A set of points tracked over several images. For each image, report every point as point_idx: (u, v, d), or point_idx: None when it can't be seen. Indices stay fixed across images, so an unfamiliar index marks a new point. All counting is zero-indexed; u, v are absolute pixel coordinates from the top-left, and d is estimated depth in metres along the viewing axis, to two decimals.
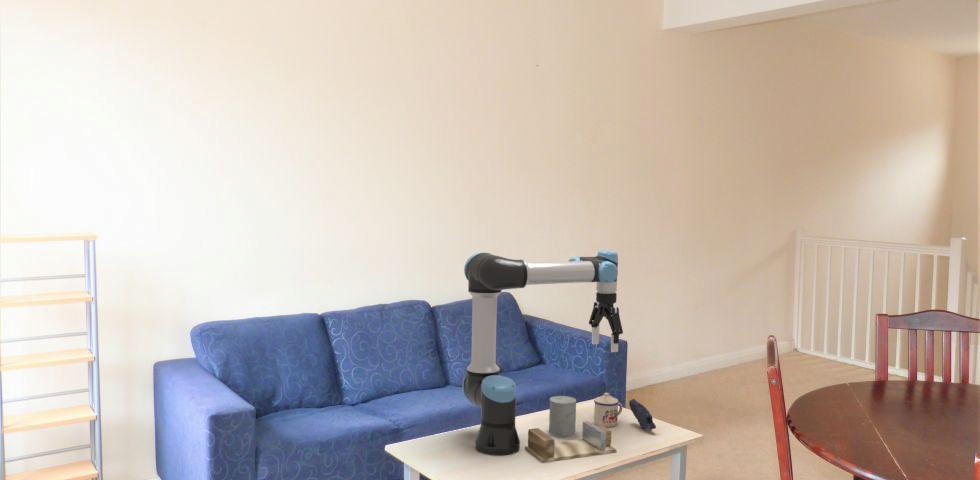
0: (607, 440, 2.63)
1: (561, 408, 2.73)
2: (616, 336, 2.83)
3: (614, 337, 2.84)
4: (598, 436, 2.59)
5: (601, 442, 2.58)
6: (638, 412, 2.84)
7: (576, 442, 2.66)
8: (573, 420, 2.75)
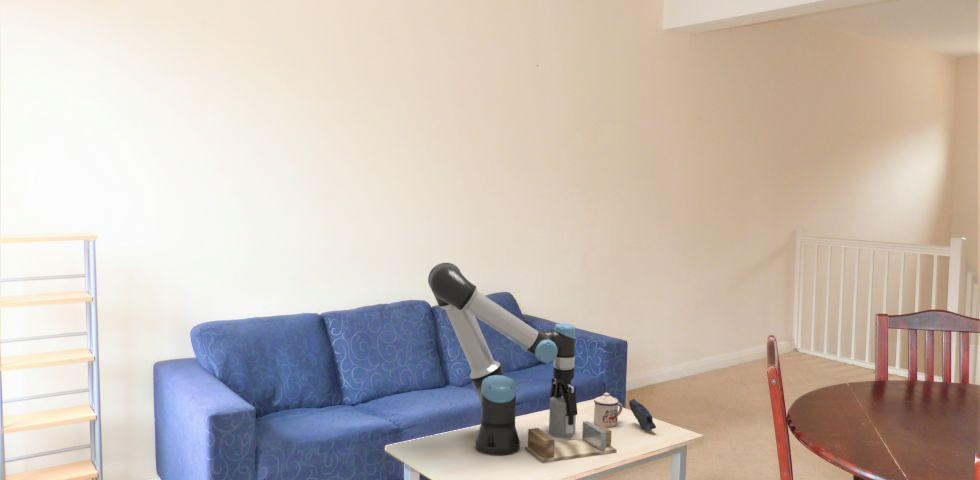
0: (607, 440, 2.63)
1: (561, 408, 2.73)
2: (570, 417, 2.72)
3: (568, 418, 2.72)
4: (598, 436, 2.59)
5: (601, 442, 2.58)
6: (638, 412, 2.84)
7: (576, 442, 2.66)
8: (573, 420, 2.75)
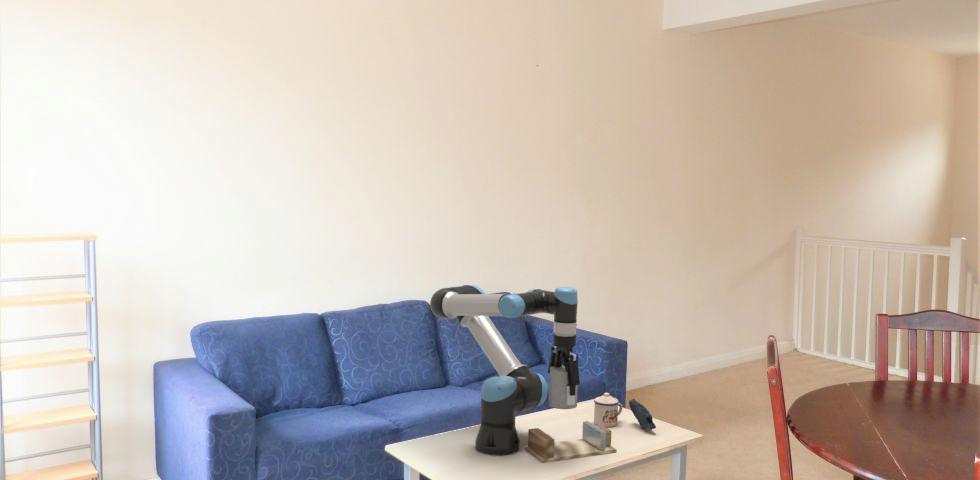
0: (607, 440, 2.63)
1: (562, 377, 2.53)
2: (572, 387, 2.52)
3: (570, 388, 2.52)
4: (598, 436, 2.59)
5: (601, 442, 2.58)
6: (638, 412, 2.84)
7: (576, 442, 2.66)
8: (575, 391, 2.55)
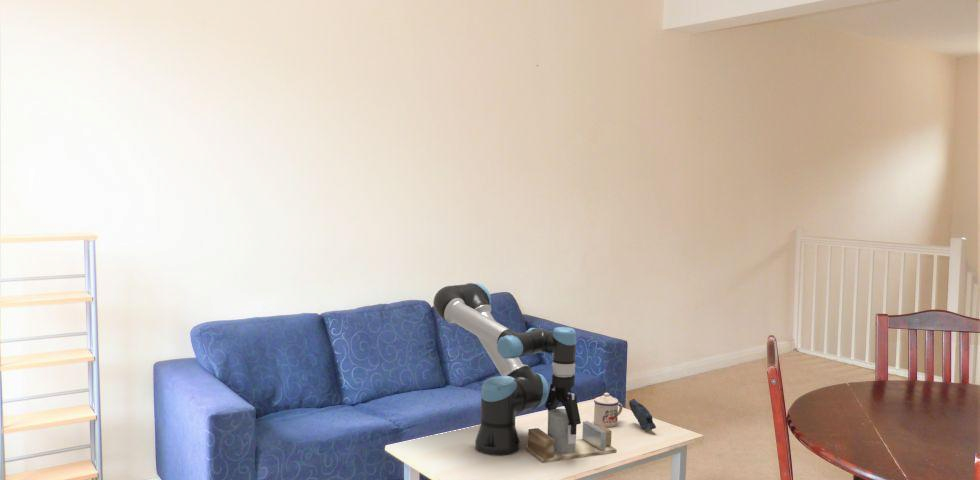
0: (607, 440, 2.63)
1: (560, 422, 2.54)
2: (573, 426, 2.51)
3: (571, 427, 2.51)
4: (598, 436, 2.59)
5: (601, 442, 2.58)
6: (638, 412, 2.84)
7: (576, 442, 2.66)
8: None
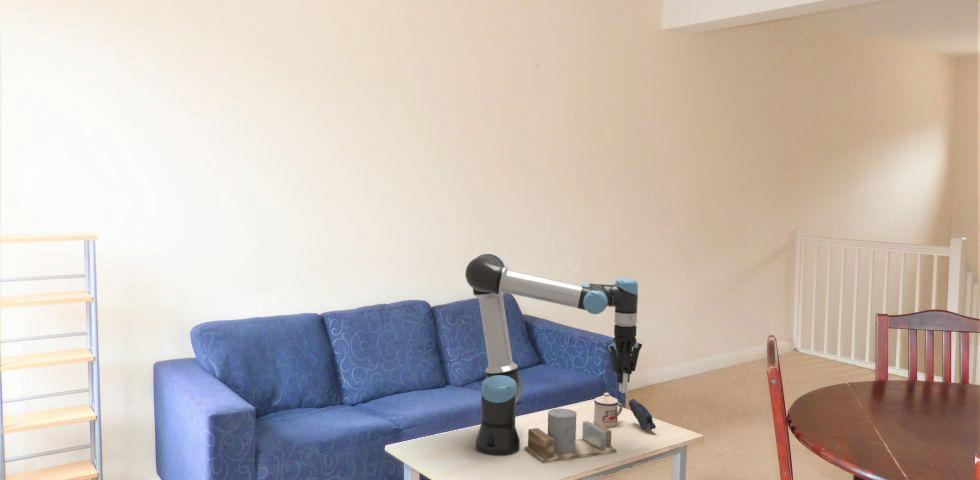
0: (607, 440, 2.63)
1: (560, 422, 2.54)
2: (618, 374, 2.66)
3: None
4: (598, 436, 2.59)
5: (601, 442, 2.58)
6: (638, 412, 2.84)
7: (576, 442, 2.66)
8: (573, 435, 2.56)
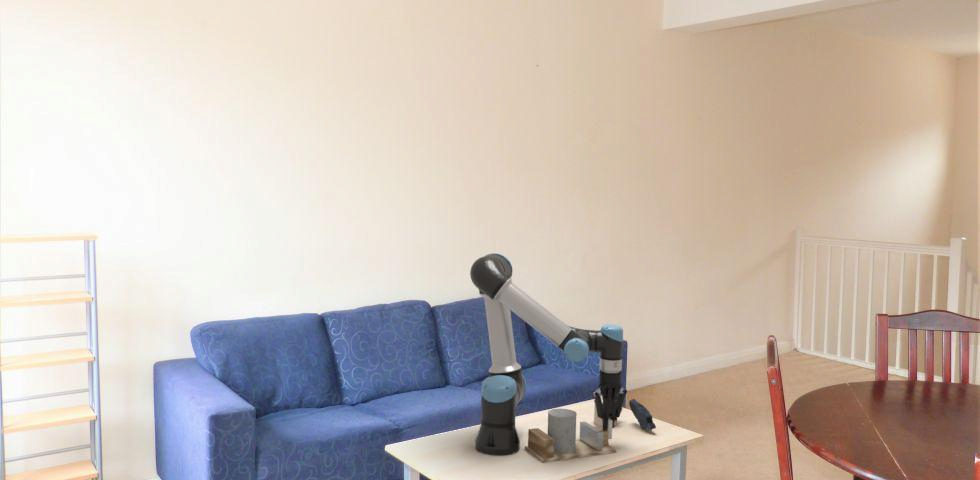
0: (604, 440, 2.62)
1: (560, 422, 2.54)
2: (603, 421, 2.65)
3: None
4: (596, 437, 2.59)
5: (598, 442, 2.58)
6: (638, 412, 2.84)
7: (576, 442, 2.66)
8: (573, 435, 2.56)
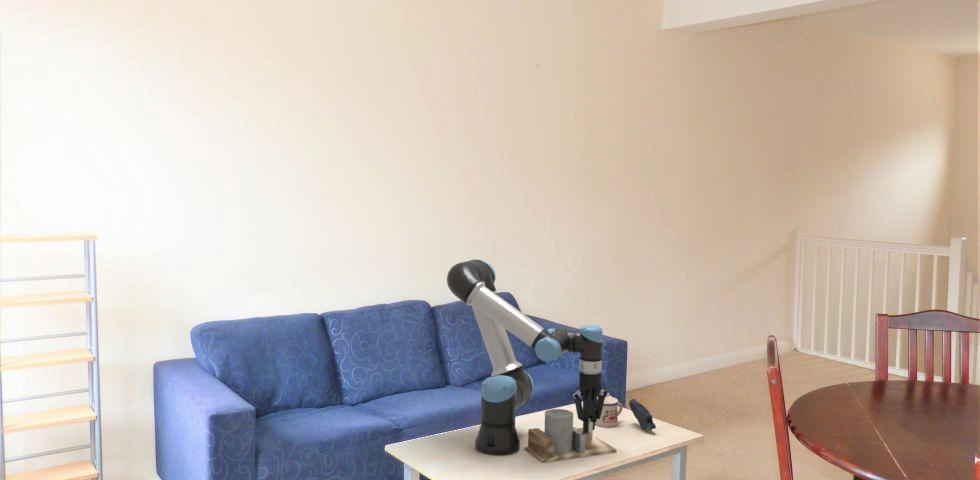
0: (587, 443, 2.60)
1: (557, 422, 2.54)
2: (583, 422, 2.62)
3: None
4: (578, 439, 2.56)
5: (580, 445, 2.55)
6: (638, 412, 2.84)
7: None
8: (570, 436, 2.56)
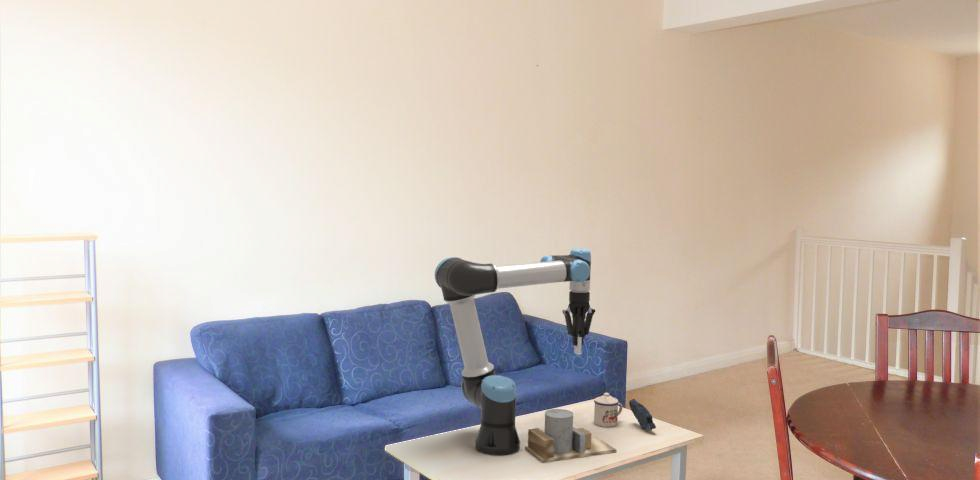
0: (587, 443, 2.60)
1: (557, 422, 2.54)
2: (573, 338, 2.87)
3: None
4: (578, 439, 2.56)
5: (580, 445, 2.55)
6: (638, 412, 2.84)
7: None
8: (570, 436, 2.56)
